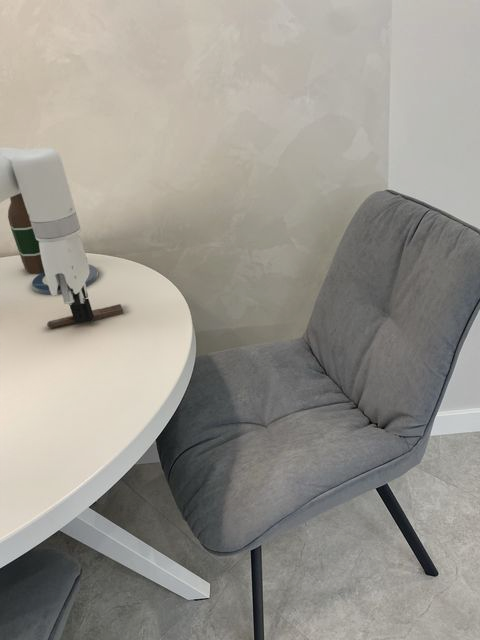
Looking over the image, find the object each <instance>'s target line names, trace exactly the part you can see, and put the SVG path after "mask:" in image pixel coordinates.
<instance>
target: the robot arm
mask: <svg viewBox="0 0 480 640" xmlns="http://www.w3.org/2000/svg"><path fill="white" fill-rule="evenodd" d="M19 193H21V194H22V197H23V200H24V203H25V206H26V209H27V213H28V216H29V219H30V222H31V225H32V228H33V231H34V234H35V237H36V240H38V241H39V248H40V254H41V259H42V264H43V268H44V271H45V275H46V279H47V282H48V286H49V289H50V292H51V294H52V295H51V296H53V297H57V296H58V295H59V294H58V293H59V292H60V290H61V291H62V294H61V296H62V299H63V304H64V305H68V306H69V307H70V311H71V314H72V315H71V316H73V318H74V321H75V322H76V323H75V324H81V323H90V322H93V321H92V318H93V317H94V315H93V312H92V310H93V309H92V306H91V301H90V298H89V294H88V289H87V286H86V284H85V282H86V280H87V278H88V276H89V272H90V271H89V265H90V264H89V261H88V257H87V254H86V250H85V248H84V245H83V242H82V238H81V236H80V234H79V233H80V232H81V230H82V229H81V226H80V225H81V224H80V221H79V217H78V215H77V211H76V207H75V204H74V200H73V197H72V192H71V188H70V186H69V181H68V178H67V174H66V171H65V167H64V164H63V160H62V157H61V155H60V153H59V152H58V151H57V150H56V149H54V148H52V147H35V148H29V149H23V148H17V147H9V146H8V147H6V146H5V147H0V204H1V203H3V202H4V201H6V200H8V199H10V198H11V197H13V196H15V195H17V194H19ZM88 264H89V265H88Z"/></svg>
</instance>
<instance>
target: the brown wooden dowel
mask: <svg viewBox="0 0 480 640" xmlns="http://www.w3.org/2000/svg"><path fill="white" fill-rule="evenodd" d="M92 312H93V315H94V317H93V318H92V321H91V322H94V321H98V320H102V319H105V318H111V317H114V316H119V315H123V314H124V309H123V306H122V304H121V303H118V304H115V305H110V306H105V307H102V308H101V307H100V308H96V309H92ZM71 324H72V325H73V324H77V323H76V322H75V321H74V318H73V315H70V316H66V317H65V316H64V317H61V318H57V319H53V320H48V321H47V323H46V326H47V328H49V329H56V328H59V327H63V326H68V325H71Z"/></svg>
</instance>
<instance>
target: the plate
mask: <svg viewBox="0 0 480 640" xmlns="http://www.w3.org/2000/svg"><path fill="white" fill-rule="evenodd" d="M88 265H89V271H90V272H89V276H88V278H87V280H86V282H85V284H86V287H88V286H90V285H91V284H92V283H94V282H95V281H96V280H97V279H98V277H99V272H98V268H97V267H96V266H95V265H92V264H89V263H88ZM31 286H32V288H33V290H34V291H35V292H36V293H39V294H42V295H51V296H53V295H52V294H51V292H50V289H49V286H48V282H47V279H46V275H45V272H43V273H40V274H38V275H36V276H35V277H34V278H33V279H32V282H31ZM58 295H62V291H61V290H60V292H59V293H58Z"/></svg>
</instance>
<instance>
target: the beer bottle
mask: <svg viewBox="0 0 480 640" xmlns="http://www.w3.org/2000/svg"><path fill="white" fill-rule="evenodd" d="M9 200H10V203H9V206H8V210H7V219H8V223H9V227H10V229H11V233H12V236H13V238H14V242H15V245H16V247H17V251H18V253H19V256H20V260H21V262H22V264H23V267H24V269H25V270H26V272H27V273H28V274H31V275H35V274H38V275H39V274H41V273H43V272H45V271H44V268H43V264H42V259H41V254H40V248H39V241H38V240H36V237H35V234H34V231H33V228H32V225H31V222H30V219H29V216H28V213H27V209H26V206H25V203H24V200H23V197H22V194H21V193H19V194H17V195H15V196H13V197H11V198H9Z"/></svg>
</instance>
